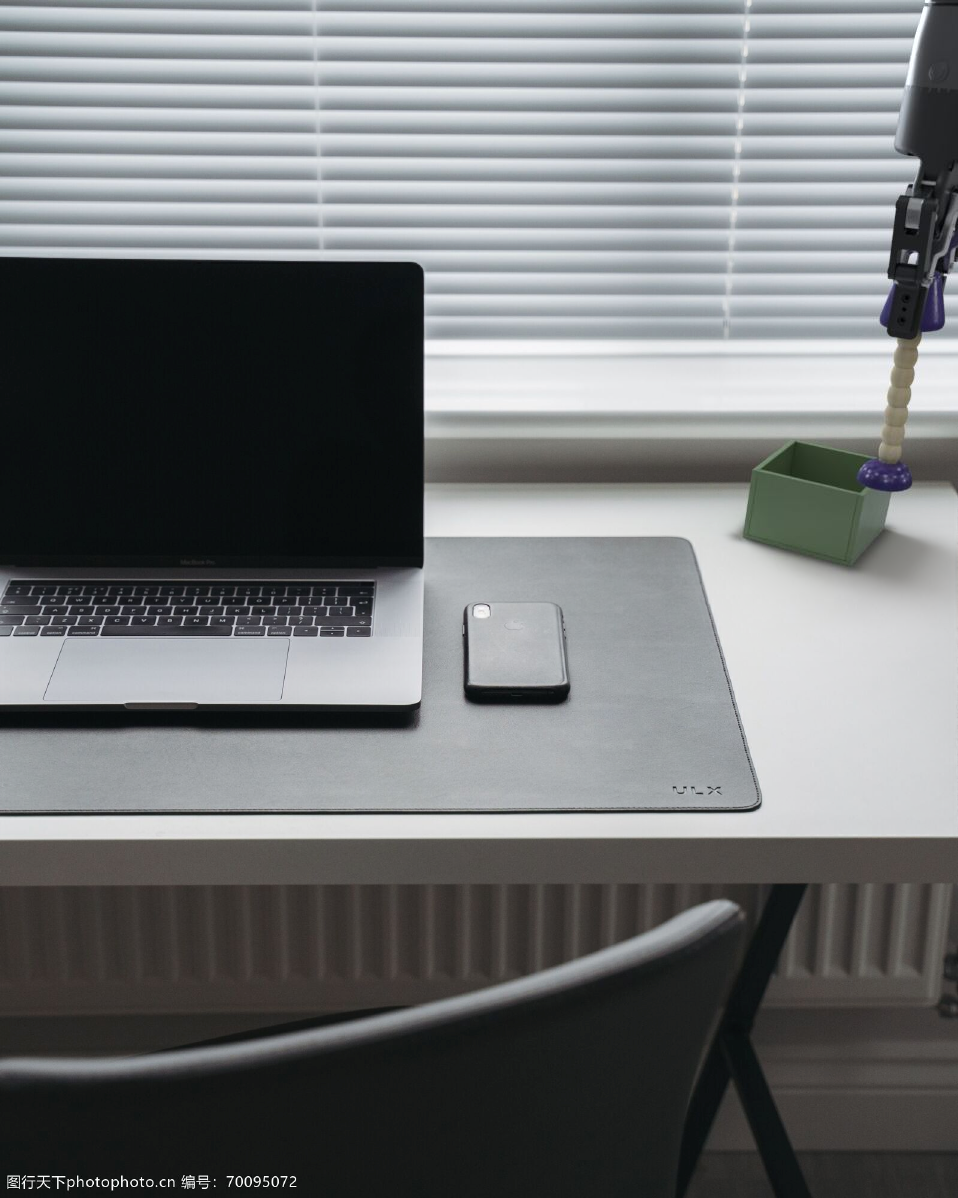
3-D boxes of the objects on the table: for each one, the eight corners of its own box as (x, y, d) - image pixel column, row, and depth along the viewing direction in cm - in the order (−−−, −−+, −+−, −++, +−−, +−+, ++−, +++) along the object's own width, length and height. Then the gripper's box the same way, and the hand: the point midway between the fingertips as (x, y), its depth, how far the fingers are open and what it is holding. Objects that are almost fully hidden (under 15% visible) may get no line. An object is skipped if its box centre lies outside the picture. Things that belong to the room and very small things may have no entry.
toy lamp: (853, 489, 87) (895, 275, 80) (845, 468, 92) (884, 262, 84) (916, 494, 87) (964, 278, 79) (905, 472, 91) (950, 265, 83)
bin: (883, 529, 116) (898, 461, 112) (849, 567, 108) (864, 496, 104) (781, 504, 121) (792, 438, 118) (742, 538, 113) (752, 469, 110)
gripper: (999, 88, 68) (938, 360, 76) (1042, 80, 79) (984, 319, 87) (877, 82, 72) (832, 341, 80) (934, 75, 82) (888, 305, 90)
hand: (911, 328), depth 83 cm, fingers closed on toy lamp, 4 cm apart
